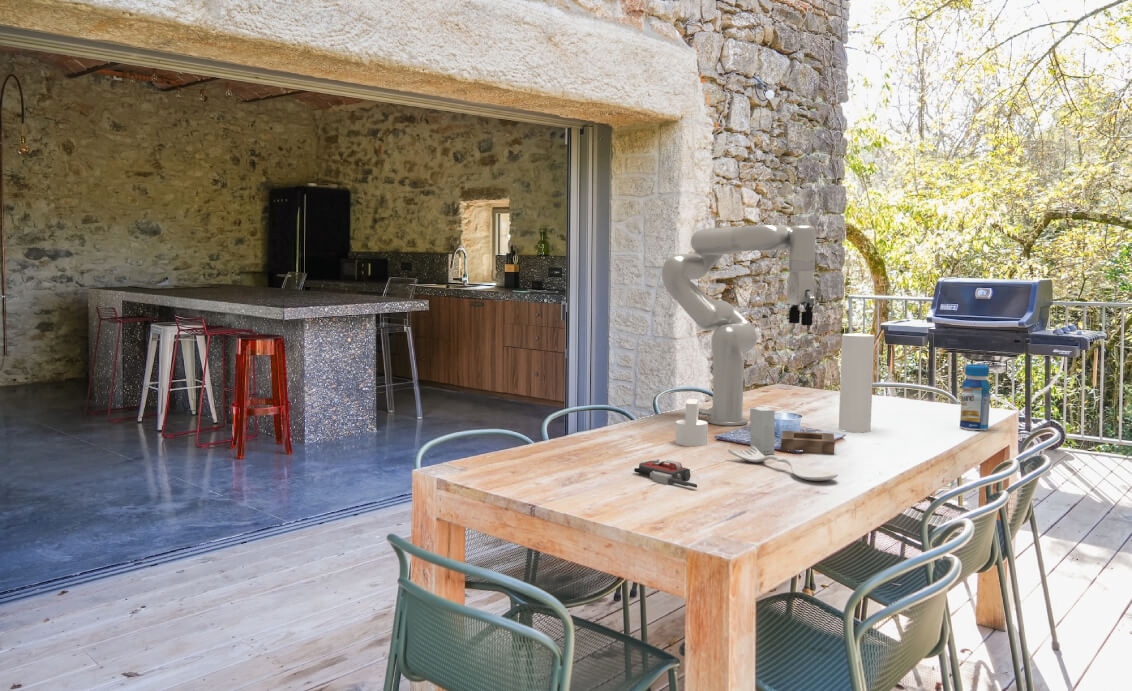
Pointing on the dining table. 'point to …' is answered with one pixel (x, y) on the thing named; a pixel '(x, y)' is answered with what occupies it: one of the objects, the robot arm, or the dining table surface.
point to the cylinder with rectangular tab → (691, 427)
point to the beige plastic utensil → (796, 468)
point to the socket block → (808, 442)
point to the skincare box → (762, 429)
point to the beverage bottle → (975, 398)
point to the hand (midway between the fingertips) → (800, 324)
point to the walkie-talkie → (665, 472)
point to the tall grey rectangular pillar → (856, 382)
